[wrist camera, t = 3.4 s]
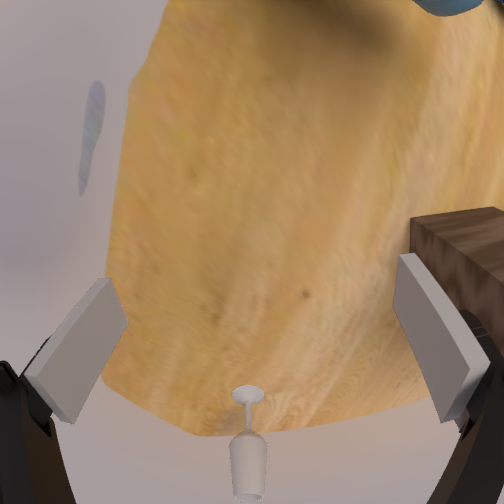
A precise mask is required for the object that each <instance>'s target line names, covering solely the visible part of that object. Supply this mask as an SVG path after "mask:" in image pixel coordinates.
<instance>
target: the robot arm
mask: <svg viewBox="0 0 504 504" xmlns="http://www.w3.org/2000/svg"><path fill="white" fill-rule="evenodd" d="M412 1H414V2H415V3H416V4H418V5H419V6H420V7H421V8H423V9H424V10H425V11H427V12H428V13H431V14H433V15H436V16H443V17H445V16H453V15H457V14H461V13H464V12H466V11H469V10H471V9H473V8H475V7H477V6H479V5H480V4H482V3H481V2H482V1H483V0H412ZM393 308H394V310H395V313H396V315H397V317H398V319H399V321H400V323H401V325H402V328H403V330H404V332H405V334H406V336H407V339H408V341H409V343H410V345H411V348H412V350H413V352H414V355H415V357H416V359H417V362H418V364H419V367H420V369H421V372H422V374H423V376H424V379H425V381H426V384H427V387H428V389H429V392H430V394H431V397H432V400H433V402H434V405H435V408H436V411H437V413H438V416H439V419H440V422H441V423H443V422H447V421H450V420H453V419H457V418H460V416H461V415H462V413H463V412H464V410H465V408H467V411H468V413H469V415H470V416H469V417H468V419H467V420H466V422H465V423H464V425H463V426H462V428H461V429H460V431H459V433H461V432H462V433H461V436H460V438H459V441H458V443H457V445H456V448H455V450H454V452H453V454H452V456H451V458H450V460H449V463H448V465H447V467H446V469H445V471H444V473H443V475H442V477H441V479H440V480H439V482H438V484H437V486H436V488H435V490H434V492H433V493H432V495H431V497H430V498H429V501H428V502H427V504H496V503H497V500H498V498H499V496H500V493H501V490H502V488H503V485H504V357H503V355H502V354H501V352H500V351H499V349H498V348H497V346H496V344H495V343H494V341H493V340H492V338H491V337H490V335H488V332H487V331H486V329H485V328H483V325H482V324H481V322H480V321H479V319H478V318H477V317H476V316H475V315H474V314H472V313H471V312H470V311H468V310H467V309H463V310H457V309H456V308H455V306H454V305H453V303H452V302H451V300H450V299H449V298H448V296H447V295H446V293H445V292H444V291H443V289H442V288H441V287H440V285H439V284H438V283H437V281H436V280H435V278H434V277H433V276H432V275H431V273H430V272H429V271H428V269H427V268H426V267H425V265H424V264H423V263H422V262H421V260H420V259H419V258H418V257H417V255H416V254H415V253H408V254H399V259H398V269H397V278H396V286H395V294H394V301H393ZM128 324H129V322H128V320H127V318H126V315H125V313H124V311H123V308H122V306H121V303H120V301H119V298H118V296H117V293H116V291H115V288H114V286H113V283H112V280H111V278H101V279H98V280H97V281H96V282H95V283H94V284H93V286H92V287H91V288H90V289H89V290H88V291H87V293H86V294H85V295H84V296H83V297H82V298H81V300H80V301H79V302H78V303H77V305H76V306H75V307H74V308H73V309H72V311H71V312H70V313H69V314H68V316H67V317H66V318H65V319H64V321H63V322H62V323H61V324H60V326H59V327H58V328H57V329H56V331H55V332H54V333H53V335H51V336H50V337H49V338H48V339H46V341H45V342H44V343H43V345H42V346H41V347H40V349H39V350H38V351H37V353H36V356H34V357H33V358H32V359H31V361H30V362H29V364H28V365H27V366H26V368H25V369H24V371H23V372H22V373H21V375H20V376H19V377H18V376H17V374H16V373H15V372H14V370H13V369H12V367H11V366H10V364H9V363H8V362H7V361H0V504H76V502H75V498H74V496H73V493H72V490H71V486H70V483H69V480H68V477H67V474H66V470H65V467H64V463H63V459H62V455H61V451H60V447H59V443H58V439H57V434H56V429H55V424H54V421H53V419H52V418H51V417H50V416H51V414H52V412H54V414H55V415H56V416H57V417H58V418H59V419H60V420H61V421H64V422H67V423H70V424H74V423H75V421H76V419H77V417H78V415H79V413H80V411H81V409H82V407H83V405H84V403H85V401H86V399H87V397H88V396H89V394H90V392H91V390H92V388H93V386H94V384H95V382H96V381H97V379H98V377H99V375H100V373H101V371H102V370H103V368H104V366H105V364H106V362H107V360H108V359H109V357H110V355H111V353H112V352H113V350H114V348H115V346H116V344H117V343H118V341H119V339H120V338H121V336H122V334H123V332H124V331H125V329H126V327H127V325H128Z"/></svg>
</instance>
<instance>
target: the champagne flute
mask: <svg viewBox="0 0 504 504" xmlns="http://www.w3.org/2000/svg"><path fill="white" fill-rule="evenodd" d="M232 398H233V399H234V400H235V401H236V402H238V403H240V404H243V405H245V431H243V432H241V433H240V434H238V435H236V436H235V437H234V438H233V439H232V441H231V442H230V459H231V472H232V483H233V494H234V499H236V500H238V501H241V502H256V501H260V500H262V499H263V498H264V488H265V473H266V459H267V443H266V441H265V440H264V438H263V437H261V436H260V435H259V434H257V433H255V432H253V431H251V405H253V404H256V403H259V402H260V401H261V400H262V399H263V398H264V392H263V390H262V389H261V388H259V387H257V386H254V385H242V386H239V387H237V388H236V389H234V391H233V392H232Z"/></svg>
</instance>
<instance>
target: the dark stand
mask: <svg viewBox="0 0 504 504" xmlns="http://www.w3.org/2000/svg"><path fill="white" fill-rule="evenodd" d="M410 253H415V254H416V255H417V257H418V258H419V259H420V260H421V262H422V263H423V264H424V265H425V267H426V268H427V269H428V271H429V272H430V273H431V275H432V276H433V277H434V278H435V280H436V281H437V283H438V284H439V285H440V287H441V288H442V289H443V291H444V292H445V293H446V295H447V296H448V298H449V299H450V300H451V302H452V303H453V305H454V306H455V308H456V309H457V310H463V309H467V310H468V311H470V312H471V313H472V314H474V315H475V316H476V317H477V318H478V319H479V321H480V322H481V324H482V325H483V328H485V329H486V331H487V332H488V335H490V337H491V338H492V340H493V341H494V343H495V344H496V346H497V348H498V349H499V351H500V352H501V354H502V355H503V357H504V211H502V210H500V209H497V208H495V207H485V208H478V209H470V210H463V211H456V212H449V213H441V214H434V215H427V216H420V217H413V218H411V229H410Z"/></svg>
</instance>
